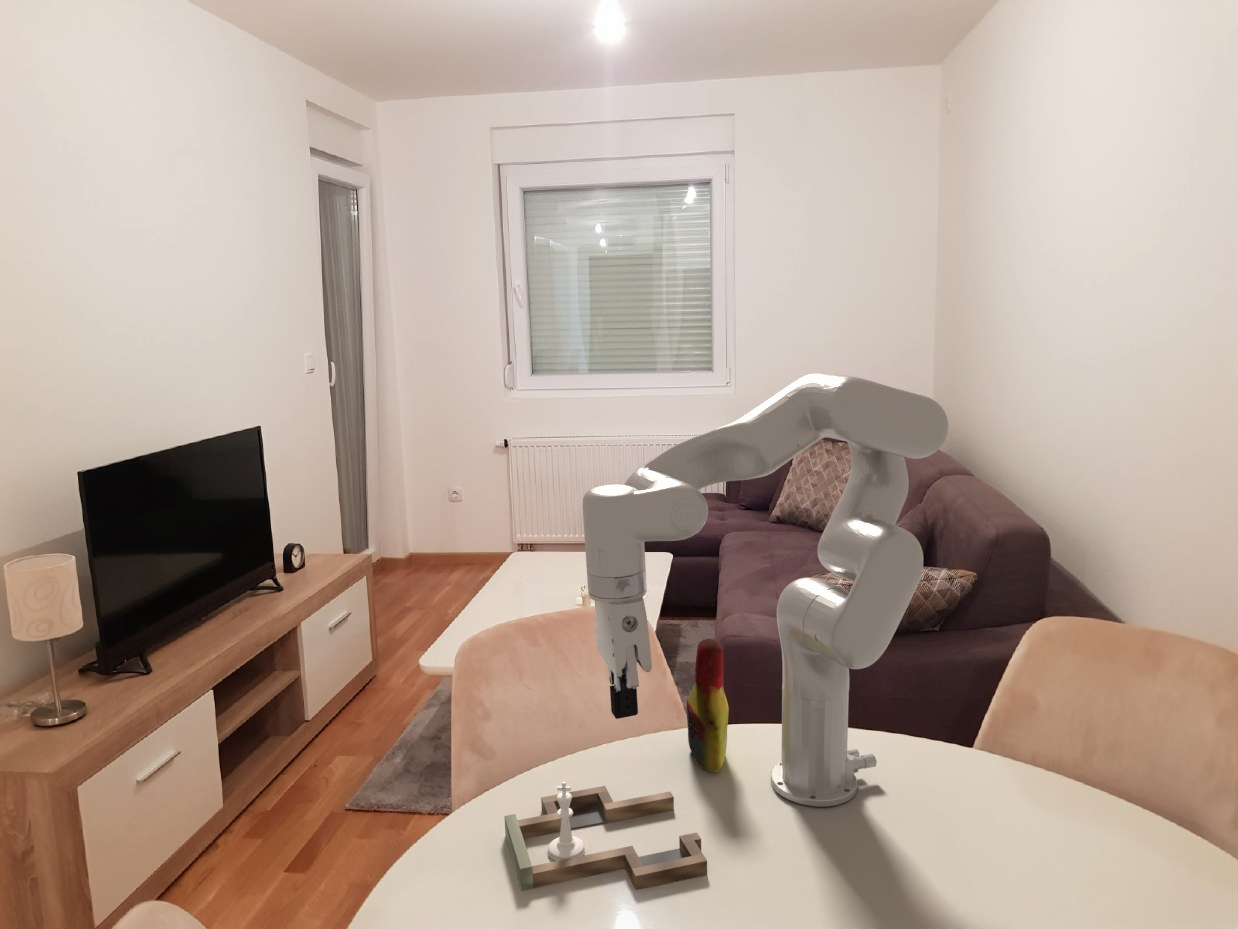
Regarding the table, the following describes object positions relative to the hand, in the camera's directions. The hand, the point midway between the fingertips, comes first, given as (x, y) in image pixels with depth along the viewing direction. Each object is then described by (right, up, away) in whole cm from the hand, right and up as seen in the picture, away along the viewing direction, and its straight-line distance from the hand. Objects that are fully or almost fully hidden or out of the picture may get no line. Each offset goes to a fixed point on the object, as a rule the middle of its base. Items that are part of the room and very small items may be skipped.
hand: (624, 714), depth 117 cm
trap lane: (-3, -18, +2) cm, 19 cm away
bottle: (+13, -14, +24) cm, 30 cm away
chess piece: (-8, -19, +1) cm, 20 cm away
